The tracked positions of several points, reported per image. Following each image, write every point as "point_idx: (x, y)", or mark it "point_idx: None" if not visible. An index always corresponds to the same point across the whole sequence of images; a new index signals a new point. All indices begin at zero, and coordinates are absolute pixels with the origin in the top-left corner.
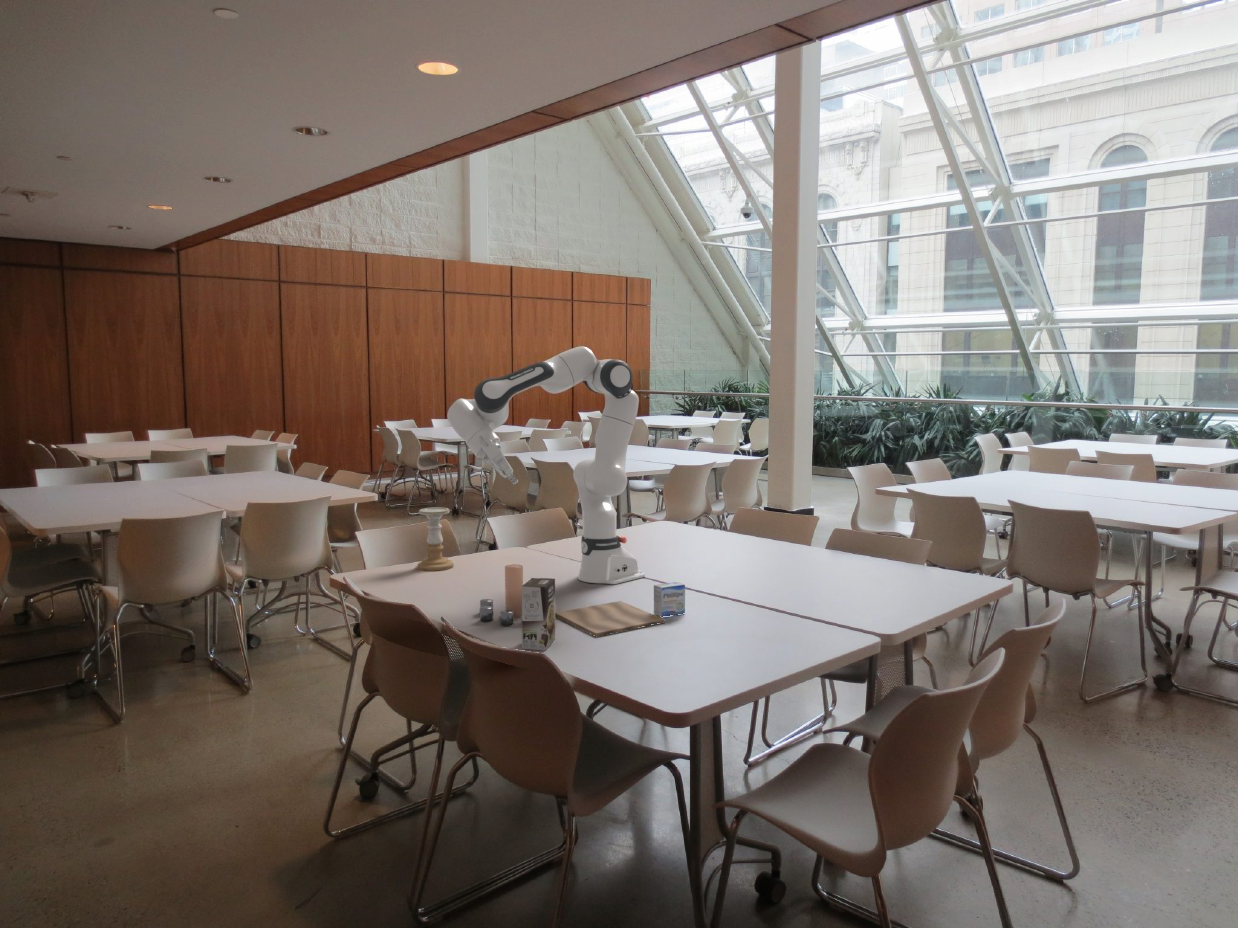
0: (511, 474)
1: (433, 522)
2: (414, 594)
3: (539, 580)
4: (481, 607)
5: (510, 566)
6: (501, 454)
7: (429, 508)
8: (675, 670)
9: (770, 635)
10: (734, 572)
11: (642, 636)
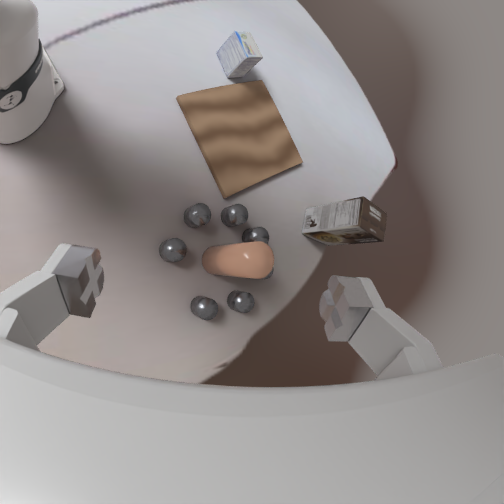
0: (329, 285)
1: None
2: None
3: (370, 218)
4: (244, 310)
5: (258, 266)
6: (497, 357)
7: None
8: (357, 131)
9: (292, 34)
10: None
11: (297, 119)
